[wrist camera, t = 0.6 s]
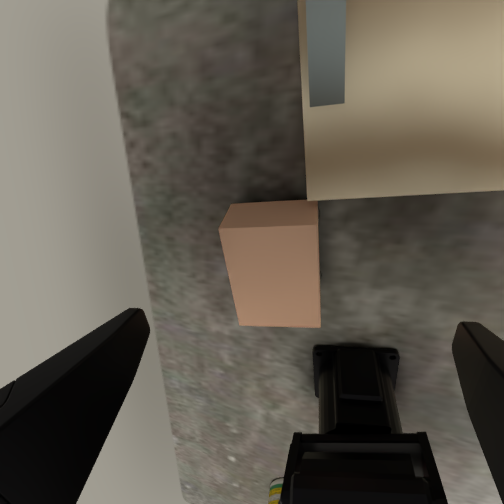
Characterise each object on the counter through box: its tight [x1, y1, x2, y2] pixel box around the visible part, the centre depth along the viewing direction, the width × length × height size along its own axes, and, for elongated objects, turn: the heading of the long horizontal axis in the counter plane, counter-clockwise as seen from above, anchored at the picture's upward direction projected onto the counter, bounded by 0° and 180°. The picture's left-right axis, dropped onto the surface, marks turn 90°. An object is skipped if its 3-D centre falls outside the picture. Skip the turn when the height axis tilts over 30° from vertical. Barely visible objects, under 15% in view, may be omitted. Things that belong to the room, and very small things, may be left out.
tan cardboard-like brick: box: [218, 200, 322, 328], centre depth 20 cm, size 7×5×4 cm
